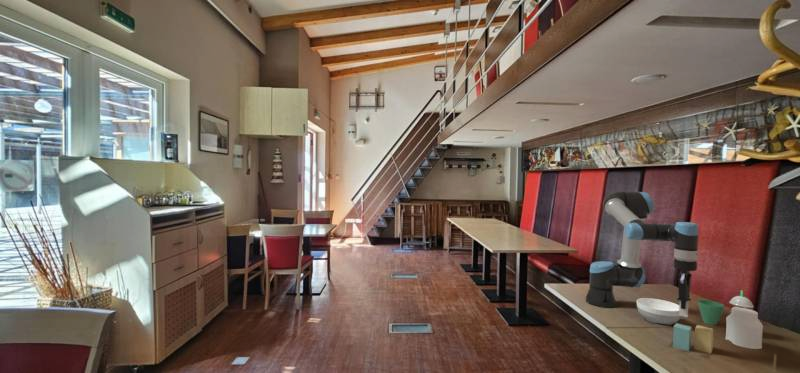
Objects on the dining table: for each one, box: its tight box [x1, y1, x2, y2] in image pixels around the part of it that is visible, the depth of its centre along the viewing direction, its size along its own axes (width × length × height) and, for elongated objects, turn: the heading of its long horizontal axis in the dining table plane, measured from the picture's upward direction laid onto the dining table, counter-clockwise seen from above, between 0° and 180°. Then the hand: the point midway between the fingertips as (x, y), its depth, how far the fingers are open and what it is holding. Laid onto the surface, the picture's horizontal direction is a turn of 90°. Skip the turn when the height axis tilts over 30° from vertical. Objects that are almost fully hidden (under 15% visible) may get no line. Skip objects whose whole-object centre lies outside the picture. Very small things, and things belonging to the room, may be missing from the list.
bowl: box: [636, 297, 682, 326], centre depth 181 cm, size 19×19×9 cm
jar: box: [725, 307, 764, 350], centre depth 156 cm, size 12×10×15 cm
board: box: [668, 340, 714, 359], centre depth 151 cm, size 13×12×1 cm
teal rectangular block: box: [672, 322, 693, 351], centre depth 151 cm, size 5×5×9 cm
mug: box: [697, 298, 725, 326], centre depth 182 cm, size 15×10×10 cm
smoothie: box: [728, 289, 754, 315], centre depth 169 cm, size 8×8×20 cm
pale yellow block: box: [694, 324, 714, 354], centre depth 150 cm, size 5×5×9 cm
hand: (683, 315), depth 151 cm, fingers closed
